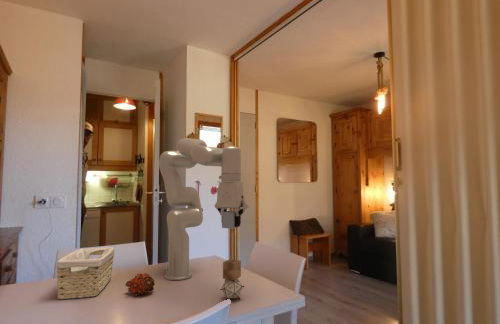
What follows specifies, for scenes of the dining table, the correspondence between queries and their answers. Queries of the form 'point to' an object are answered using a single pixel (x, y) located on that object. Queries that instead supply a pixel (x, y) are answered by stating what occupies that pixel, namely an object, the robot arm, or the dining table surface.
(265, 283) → the dining table surface
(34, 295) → the dining table surface
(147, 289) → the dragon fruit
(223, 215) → the block
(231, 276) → the block
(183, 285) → the dining table surface
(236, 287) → the beige geometric ornament
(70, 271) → the storage basket
